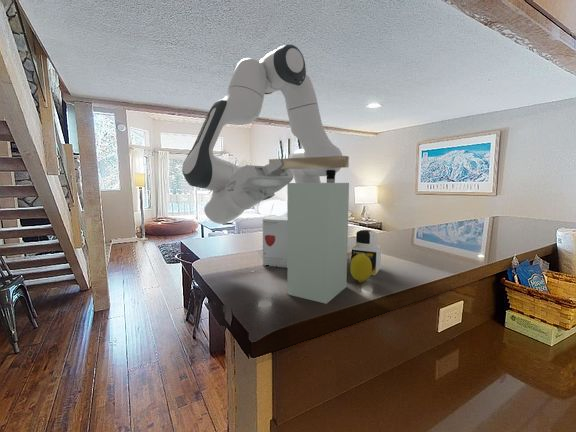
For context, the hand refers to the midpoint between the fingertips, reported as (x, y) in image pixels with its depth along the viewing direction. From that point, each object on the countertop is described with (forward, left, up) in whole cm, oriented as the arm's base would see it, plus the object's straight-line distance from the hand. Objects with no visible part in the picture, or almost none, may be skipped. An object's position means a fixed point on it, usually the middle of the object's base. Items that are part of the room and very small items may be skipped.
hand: (286, 161), depth 72 cm
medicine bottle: (-22, +14, -31) cm, 41 cm away
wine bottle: (-27, 0, -31) cm, 41 cm away
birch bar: (0, +6, -2) cm, 6 cm away
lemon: (-11, +16, -31) cm, 37 cm away
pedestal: (0, +9, -31) cm, 32 cm away
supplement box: (-15, -12, -31) cm, 37 cm away
